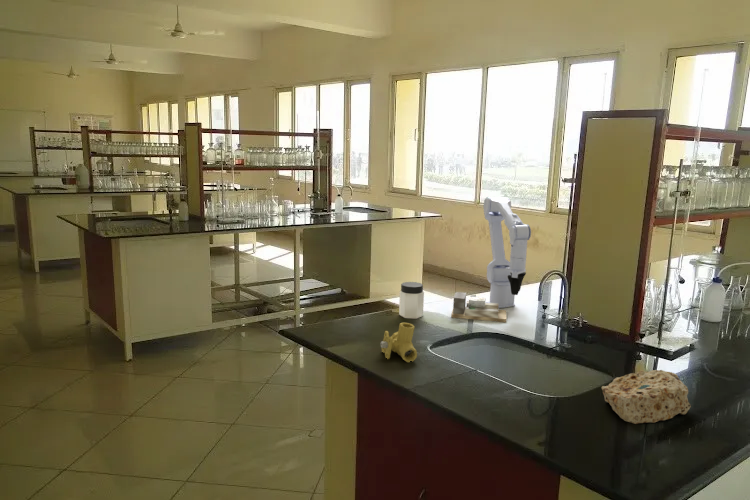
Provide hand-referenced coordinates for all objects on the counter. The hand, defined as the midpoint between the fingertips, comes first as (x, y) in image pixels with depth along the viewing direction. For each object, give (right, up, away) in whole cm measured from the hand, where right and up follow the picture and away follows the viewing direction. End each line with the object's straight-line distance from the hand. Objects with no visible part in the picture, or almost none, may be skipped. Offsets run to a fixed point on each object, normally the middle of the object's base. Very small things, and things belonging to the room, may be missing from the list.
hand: (515, 292), depth 209 cm
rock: (+14, -23, -71) cm, 76 cm away
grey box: (-14, -8, +1) cm, 16 cm away
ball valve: (-46, -16, -40) cm, 63 cm away
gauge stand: (-13, -9, +3) cm, 16 cm away
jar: (-39, -9, +1) cm, 40 cm away
